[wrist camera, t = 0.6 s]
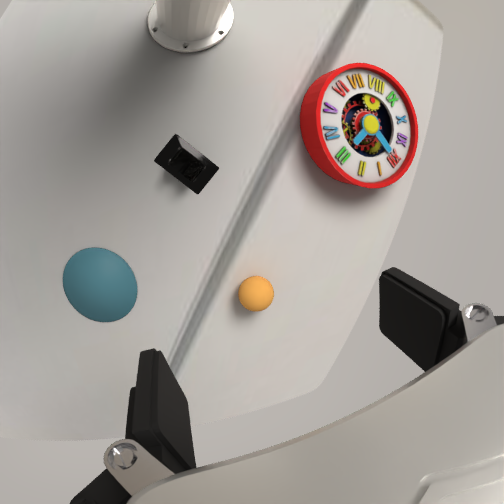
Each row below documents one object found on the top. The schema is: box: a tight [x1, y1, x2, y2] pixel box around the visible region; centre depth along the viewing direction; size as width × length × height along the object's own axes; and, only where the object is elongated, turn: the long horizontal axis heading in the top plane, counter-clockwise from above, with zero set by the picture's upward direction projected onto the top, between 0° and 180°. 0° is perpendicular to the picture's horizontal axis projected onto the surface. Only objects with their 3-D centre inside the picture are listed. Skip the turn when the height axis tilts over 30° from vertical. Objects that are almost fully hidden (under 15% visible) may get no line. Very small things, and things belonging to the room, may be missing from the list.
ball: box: [238, 276, 274, 311], centre depth 45 cm, size 6×6×6 cm
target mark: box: [63, 248, 137, 322], centre depth 41 cm, size 13×13×1 cm
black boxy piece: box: [154, 134, 219, 194], centre depth 37 cm, size 12×7×5 cm, turn 49°
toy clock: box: [300, 63, 418, 188], centre depth 40 cm, size 20×6×20 cm
